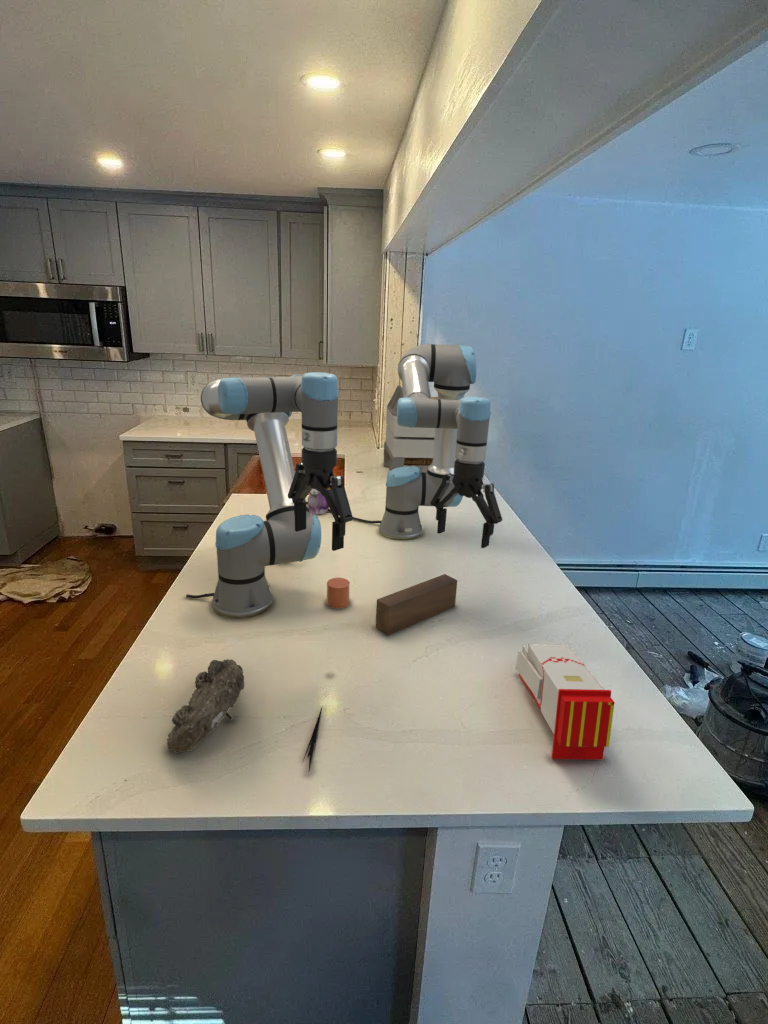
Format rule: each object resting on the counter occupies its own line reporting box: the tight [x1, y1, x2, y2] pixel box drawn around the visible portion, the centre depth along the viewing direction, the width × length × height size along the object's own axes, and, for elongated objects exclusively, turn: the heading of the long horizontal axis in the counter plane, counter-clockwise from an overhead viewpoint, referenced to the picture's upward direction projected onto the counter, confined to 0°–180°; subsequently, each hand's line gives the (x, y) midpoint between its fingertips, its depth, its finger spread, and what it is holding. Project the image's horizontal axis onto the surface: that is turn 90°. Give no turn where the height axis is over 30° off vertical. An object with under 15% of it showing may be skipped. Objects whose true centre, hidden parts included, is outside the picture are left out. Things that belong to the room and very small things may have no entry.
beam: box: [375, 573, 458, 637], centre depth 145 cm, size 5×24×8 cm, turn 131°
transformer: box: [383, 384, 438, 472], centre depth 268 cm, size 34×33×41 cm
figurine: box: [307, 489, 330, 516], centre depth 215 cm, size 9×10×15 cm
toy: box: [515, 643, 615, 761], centre depth 113 cm, size 12×13×30 cm
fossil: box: [166, 658, 245, 754], centre depth 106 cm, size 22×10×15 cm
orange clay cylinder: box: [326, 577, 351, 609], centre depth 151 cm, size 6×6×6 cm
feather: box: [301, 673, 332, 771], centre depth 108 cm, size 2×28×2 cm
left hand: (318, 539), depth 128 cm, fingers open, 13 cm apart
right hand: (462, 539), depth 148 cm, fingers open, 13 cm apart
